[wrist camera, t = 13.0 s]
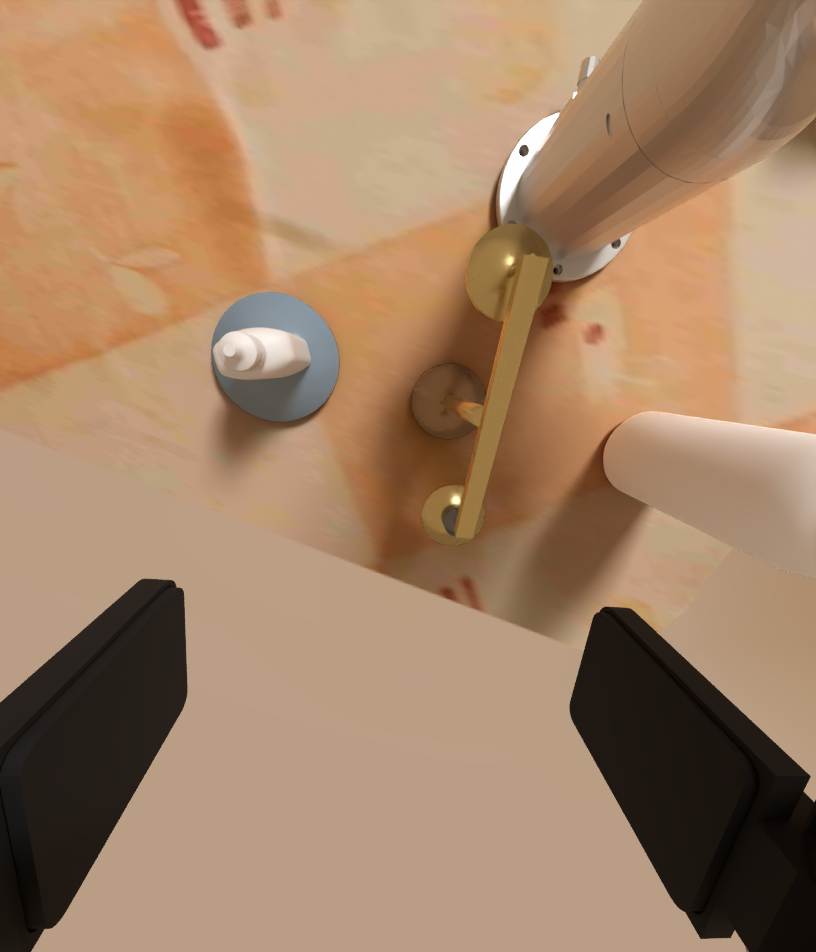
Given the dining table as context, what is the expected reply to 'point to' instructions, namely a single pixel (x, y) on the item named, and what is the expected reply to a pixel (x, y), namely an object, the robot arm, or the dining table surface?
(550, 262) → the balance
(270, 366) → the eye dropper bottle
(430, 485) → the dining table surface
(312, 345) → the grey flat round piece
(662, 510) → the alcohol
